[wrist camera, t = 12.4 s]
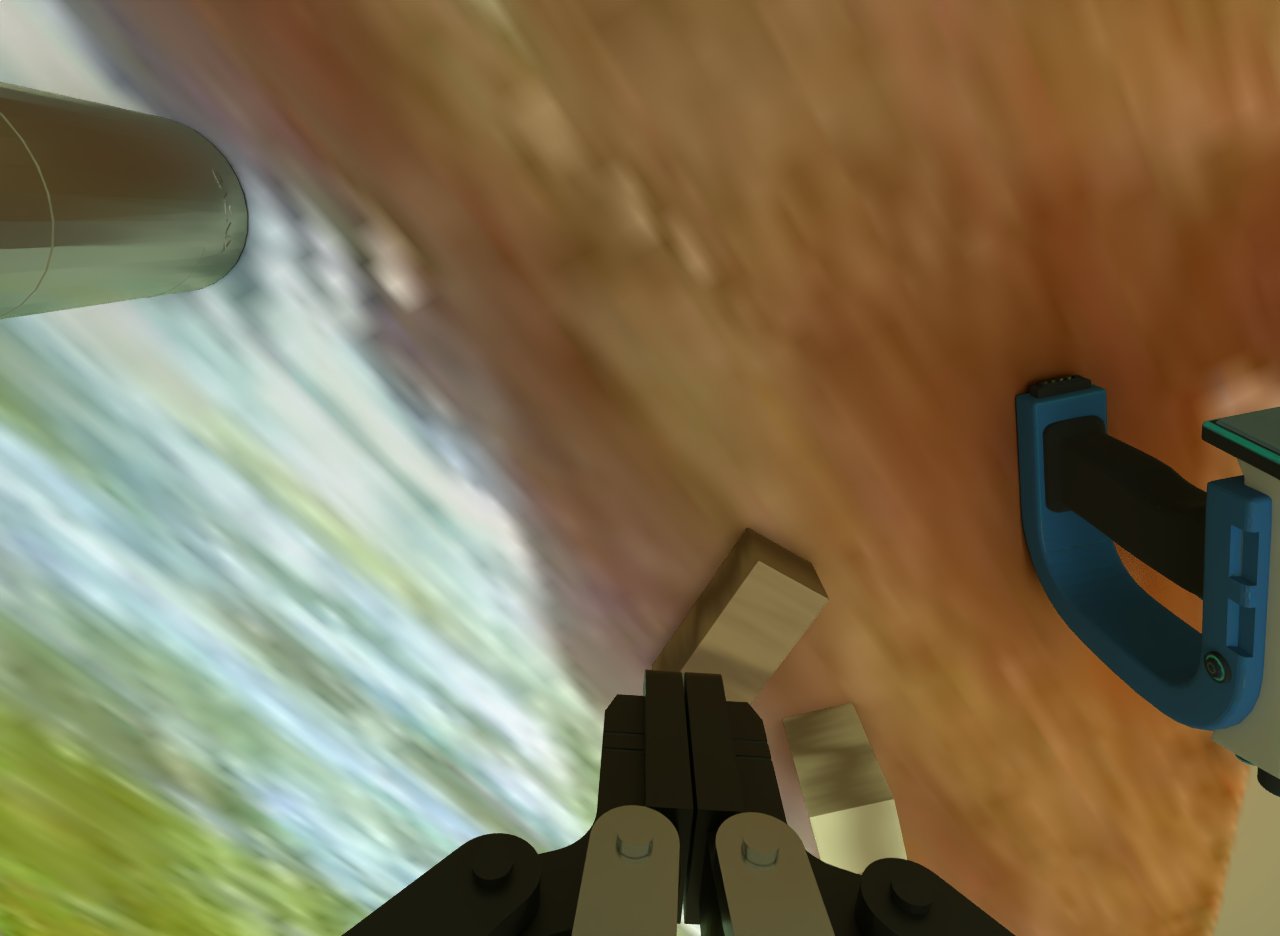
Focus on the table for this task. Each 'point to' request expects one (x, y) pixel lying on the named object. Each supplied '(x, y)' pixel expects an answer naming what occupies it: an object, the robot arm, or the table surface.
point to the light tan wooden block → (747, 617)
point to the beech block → (844, 789)
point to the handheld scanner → (1162, 561)
